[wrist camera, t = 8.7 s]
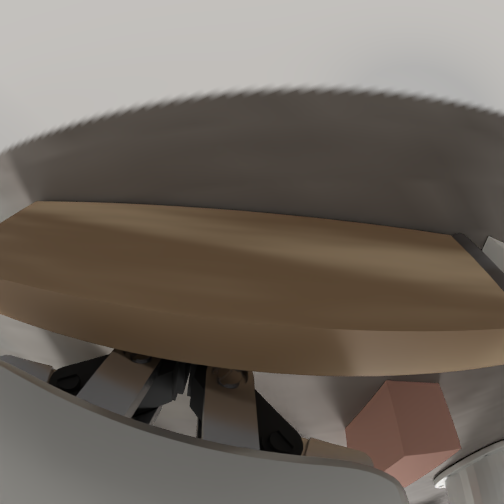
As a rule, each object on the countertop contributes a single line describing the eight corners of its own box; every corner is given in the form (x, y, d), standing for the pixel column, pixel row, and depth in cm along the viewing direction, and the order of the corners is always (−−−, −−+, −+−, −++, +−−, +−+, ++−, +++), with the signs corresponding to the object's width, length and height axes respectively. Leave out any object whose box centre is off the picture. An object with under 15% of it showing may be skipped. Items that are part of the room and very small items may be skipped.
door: (462, 265, 12) (532, 359, 6) (45, 227, 13) (-41, 297, 7) (473, 235, 11) (555, 322, 6) (39, 198, 12) (-55, 261, 6)
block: (438, 382, 16) (461, 448, 11) (394, 428, 19) (405, 487, 14) (386, 379, 16) (404, 455, 11) (345, 427, 19) (351, 492, 14)
